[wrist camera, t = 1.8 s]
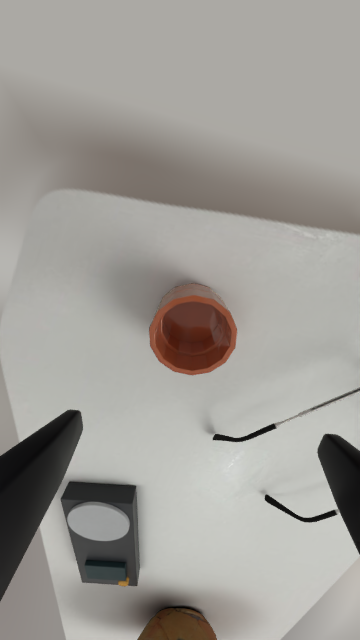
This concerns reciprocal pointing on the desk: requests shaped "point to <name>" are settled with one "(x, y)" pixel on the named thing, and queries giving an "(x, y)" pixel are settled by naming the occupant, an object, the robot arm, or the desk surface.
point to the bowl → (178, 626)
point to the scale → (103, 531)
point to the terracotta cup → (192, 330)
